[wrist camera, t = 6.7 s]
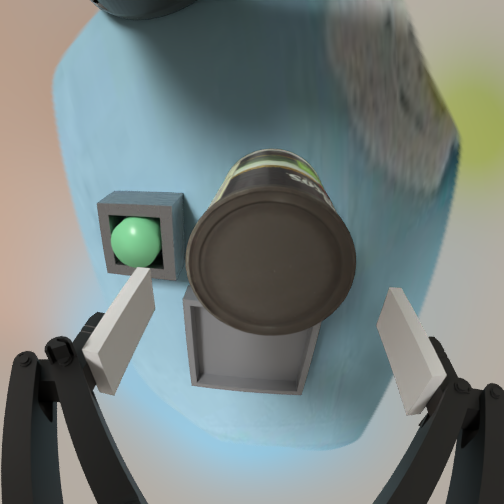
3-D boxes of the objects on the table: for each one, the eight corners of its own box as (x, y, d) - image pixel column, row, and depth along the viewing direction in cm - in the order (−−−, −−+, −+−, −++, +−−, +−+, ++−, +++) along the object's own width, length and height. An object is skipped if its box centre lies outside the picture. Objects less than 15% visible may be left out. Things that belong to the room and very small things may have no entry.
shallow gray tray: (188, 285, 36) (182, 299, 34) (321, 296, 36) (324, 310, 33) (195, 371, 44) (191, 385, 41) (300, 380, 43) (301, 394, 41)
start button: (124, 206, 31) (107, 220, 28) (167, 208, 31) (154, 223, 28) (129, 248, 34) (114, 265, 30) (170, 251, 34) (158, 270, 30)
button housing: (114, 190, 31) (96, 203, 28) (183, 193, 31) (171, 205, 28) (121, 255, 35) (107, 272, 32) (185, 261, 35) (176, 280, 31)
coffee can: (284, 126, 28) (294, 149, 15) (341, 211, 31) (383, 289, 19) (199, 187, 31) (151, 253, 18) (260, 261, 34) (252, 356, 22)
